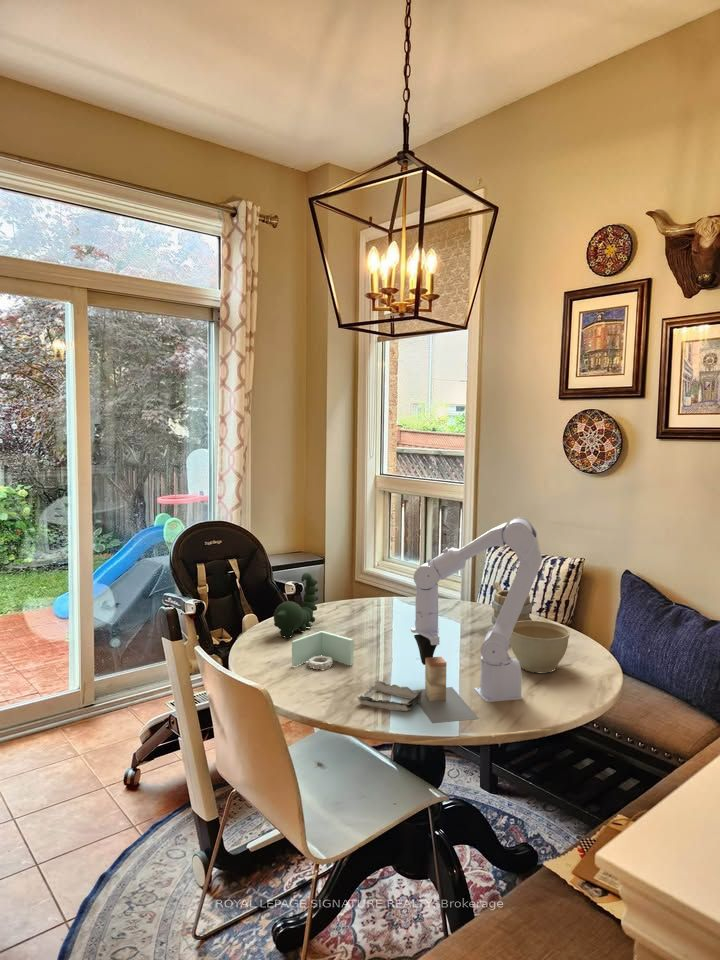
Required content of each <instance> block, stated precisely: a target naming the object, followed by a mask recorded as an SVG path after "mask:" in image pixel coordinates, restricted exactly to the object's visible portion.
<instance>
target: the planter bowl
mask: <svg viewBox="0 0 720 960" xmlns="http://www.w3.org/2000/svg"><path fill="white" fill-rule="evenodd" d="M570 635H571V634H570V631H569V630H568V629H567V628H566V627H565V626H562V625H560V624H557V623H553V622H548V621H542V620H532V621H518V622H516V624H515V626H514V629H513V631H512V634H511V637H510V639H511V643H510V648H511V650H512V653H513V654H514V657H515V659H517V660H518V662H519V664H520V667H521V669H522V670H524V669H525V671H527V670H528V671H527V672H530V671H532V672H531V673H534V672H550V671H552V670H554V669H555V670H556V667H557V665H558V664H560V662H561V661H562V660H563V658H564V656H565V654H566V651H567V649H568V644H569V639H570ZM555 670H554V671H555ZM550 673H551V672H550Z"/></svg>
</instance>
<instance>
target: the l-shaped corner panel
mask: <svg viewBox="0 0 720 960" xmlns="http://www.w3.org/2000/svg"><path fill="white" fill-rule="evenodd" d="M321 655H322V656H321ZM333 660H335V661H333ZM306 661H309V662H308V663H307V667H309V666H310V667H309V669H310V668H313V667H314V668H313V669H326V670H329V669H331V668H332V667H331V666H333V665H332V664H333V662H336V661H338V662H337V663H339V662H341V663H340V664H342V663H344V664H343V665H346V664H347V665H346V666H349V665H350V666H349V667H352V666H354V639H353V638H349V637H346V636H342V635H338V634H335V633H332V632H328V631H324V630H320V631H318V632H317V631H316V632H314V633H311V634H308V635H305V636H302V637H301V638H297V639H295V640H292V641H291V667H292V666H297V665H299V664H302V663H304V662H306ZM320 662H324V663H320ZM308 664H309V665H308ZM351 665H352V666H351ZM297 667H298V666H297ZM330 667H331V668H330ZM313 669H312V670H313Z"/></svg>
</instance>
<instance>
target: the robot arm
mask: <svg viewBox="0 0 720 960" xmlns="http://www.w3.org/2000/svg"><path fill="white" fill-rule="evenodd" d="M506 545H507V546H508V547H509V548H510V549H511V550H512V551H513V552H514V553H515V556H516V557H517V559H518V561H519V566H518V569H517V571H516V572H515V575H514V578H513V580H512V583H511V585H510V587H509V592H508V594H507V597H506V599H505V601H504V604H503V606H502V608H501V611H500V613H499V616H498V618H497V620H496V623H495V625H494V624H493V626H492V628H491V629H489V630H488V631H486V634H485V638H484V640H483V642H482V643H481V646H480V655H481V656H480V673H479V674H480V681H479V683H480V685H479V686H480V687H474V688H473V690H475V692H476V693H477V694H478V695H479V696H480V697H481V699H483V700H484V702H486V703H490V702H491V703H493V702H502V701H503V702H505V701H514V700H515V701H516V700H523V696H522V668H521V667H520V664H519V661H518V659H517V658H516V657H515V658H514V657H513V658H512V657H511V656H510V654H509V652H508V651H509V648H510V647H511V644H510V643H511V639H510V637H511V634H512V631H513V629H514V626H515V624H516V622H517V619H518V617H519V615H520V613H521V610H522V608H523V606H524V603H525V601H526V599H527V596H528V595H530V591H531V588H532V587H533V584H534V582H535V580H536V577H537V575H538V573H539V571H540V568H541V565H542V563H543V562H542V561H543V557H542V554H541V548H540V543H539V540H538V533H537V531H536V529H535V528H534V526H533V525H532V523H531V522H530V521H529V519H528V518H527V519H526V518H524V517H515V518H513V519H511V520H510V521H509V522H503V523H501V524H499V525H497V526H495V527H493V528H491V529H490V530H488V531H486V532H485V533H483V534H482V535H480V536H479V537H477V538H476V539H474V540H472V541H471V542H469V543H467V544H466V545H464V546H463V547H461V548H456V547H451V548H448V547H446V548H444V549H443V550H442V553H440V554H438V556H435V557H434V558H431V557H430V558H429V559H427V560H426V562H425V563H422V565H420V566H419V567H418V568H417V569H416V570H415V572H414V573H413V582H414V584H415V620H414V627H411V628H410V632H411V633H413V634H414V635H413V637H414V639H415V641H416V644H417V647H418V648H417V649H418V650H419V656H420V661H421V663H422V665H423V666H425V658H428V657H434V654H435V651H436V648H437V646H439V645H440V636H439V634H440V633H439V632H440V628H439V584H438V583H439V581H443V580H445V579H447V578H448V577H450V576H452V575H454V574H455V573H457V572H459V571H461V570H463V569H465V567H466V563H467V560H469V559H471V558H473V557H475V556H477V555H479V554H480V553H483V552H484V551H486V550H488V549H490V548H491V547H500V548H501V547H503V548H504V547H505V546H506Z"/></svg>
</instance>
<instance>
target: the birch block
mask: <svg viewBox="0 0 720 960" xmlns="http://www.w3.org/2000/svg"><path fill="white" fill-rule="evenodd" d="M424 666H425V667H424V668H425V672H424V674H425V675H424V677H425V678H424V680H425V681H424V687H425V688H424V689H425V695H426V696H427V698H428V699H429V700H430V701H437V700H446V687H447V661H446V660H445V659H444V658H443V657H442V656H433V657H428V658H425V665H424Z"/></svg>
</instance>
